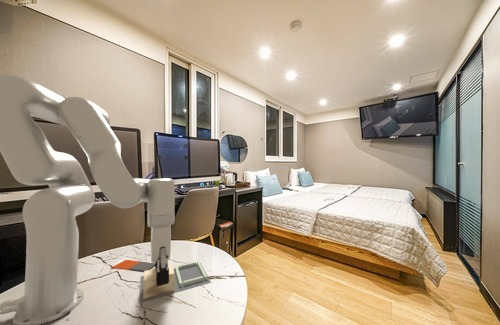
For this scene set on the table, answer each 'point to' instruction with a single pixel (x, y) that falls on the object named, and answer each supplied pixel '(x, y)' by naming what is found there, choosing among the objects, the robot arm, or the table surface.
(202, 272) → the mat
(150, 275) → the card box
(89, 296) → the table surface
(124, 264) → the phone
